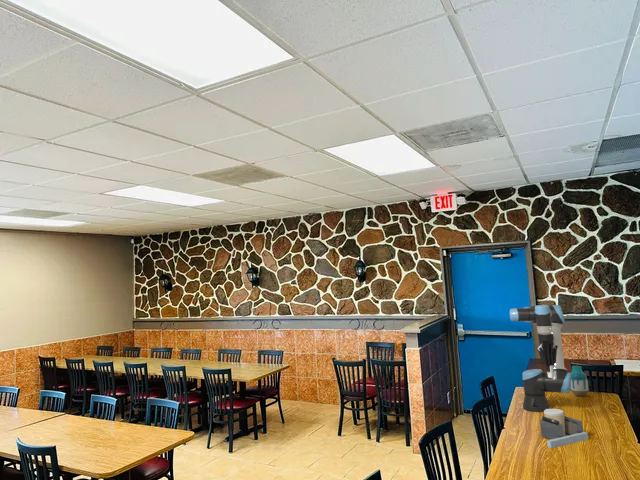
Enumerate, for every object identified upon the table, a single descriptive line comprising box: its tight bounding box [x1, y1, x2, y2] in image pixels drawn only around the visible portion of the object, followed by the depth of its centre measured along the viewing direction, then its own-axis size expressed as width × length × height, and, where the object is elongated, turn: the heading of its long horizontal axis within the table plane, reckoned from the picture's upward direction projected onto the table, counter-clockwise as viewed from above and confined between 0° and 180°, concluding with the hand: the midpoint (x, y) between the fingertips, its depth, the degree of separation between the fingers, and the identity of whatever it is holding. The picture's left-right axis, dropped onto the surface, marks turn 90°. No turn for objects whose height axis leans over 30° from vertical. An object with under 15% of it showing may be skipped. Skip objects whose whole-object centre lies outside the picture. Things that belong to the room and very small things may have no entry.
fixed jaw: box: [564, 415, 584, 436], centre depth 220 cm, size 11×4×8 cm, turn 19°
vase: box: [569, 365, 590, 397], centre depth 291 cm, size 11×11×19 cm
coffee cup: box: [543, 408, 566, 436], centre depth 222 cm, size 9×9×12 cm
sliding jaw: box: [539, 415, 564, 440], centre depth 216 cm, size 11×4×10 cm, turn 19°
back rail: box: [546, 431, 589, 449], centre depth 210 cm, size 2×24×3 cm, turn 109°
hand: (551, 377), depth 235 cm, fingers closed
